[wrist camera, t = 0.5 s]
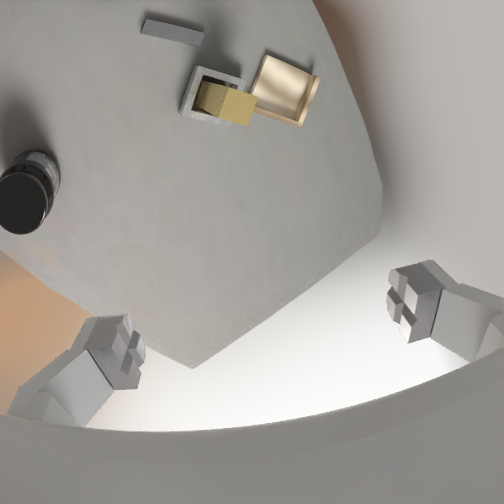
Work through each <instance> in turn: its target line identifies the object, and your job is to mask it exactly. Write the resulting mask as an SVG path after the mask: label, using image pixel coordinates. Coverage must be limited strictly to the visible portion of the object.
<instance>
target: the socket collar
mask: <svg viewBox="0 0 504 504" xmlns="http://www.w3.org/2000/svg"><path fill="white" fill-rule="evenodd" d="M203 75H205V76H208V77H212V78H215V79H219V80H222V81H225V82H228V83H232V86H231V88H233V89H236V90H239V91H242V92H243V90H244V88H245V85H246V82H247V81H246V80H243V79H240V78H237V77H234V76H231V75H227V74H224V73H221V72H218V71H215V70H211V69H208V68H204V67H201V66H194V68H193V71H192V74H191V77H190V79H189V82H188V85H187V88H186V91H185V94H184V97H183V100H182V103H181V106H180V109H179V112H178V113H179V114H180V115H181V116H185V117H190V118H194V119H198V120H203V121H207V122H211V123H215V124H219V125H223V126H227V127H230V126H231V123H232V121H228V120H224V119H220V118H218V117H216V116H214V115H212V114H210V113H206V112H202V111H198V110H194V109H191V108H192V105H193V102H194V99H195V96H196V93H197V90H198V87H199V85H200V82H201V79H202V76H203Z"/></svg>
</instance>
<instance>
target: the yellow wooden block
mask: <svg viewBox="0 0 504 504" xmlns="http://www.w3.org/2000/svg"><path fill="white" fill-rule="evenodd" d="M257 100H258V97H257V96H254V95H251V94H248V93H245V92H242V91H239V90H236V89H233V88H230V87H226V86H222V85H218V84H214V83H210V82H206V81H202V82H201V85H200V88H199V91H198V94H197V97H196V100H195V103H194V104H195V105H197V106H199V107H200V108H202V109H204V110H206V111H207V112H209V113H211V114H212V115H214V116H216V117H218V118H220V119H224V120H228V121H232V122H235V123H239V124H242V125H246V126H248V123H249V121H250V118H251V115H252V113H253V110H254V107H255V105H256V102H257Z"/></svg>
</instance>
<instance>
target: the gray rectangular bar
mask: <svg viewBox="0 0 504 504" xmlns="http://www.w3.org/2000/svg"><path fill="white" fill-rule="evenodd" d="M141 34H144V35H149V36H154V37H159V38H164V39H168V40H173V41H177V42H181V43H185V44H189V45H193V46H196V47H200V46H201V43H202V41H203V38H204V36H205V33H202V32H199V31H195V30H192V29H188V28H184V27H180V26H176V25H172V24H168V23H163V22H159V21H154V20H149V19H146V21H145V24H144V26H143V29H142V32H141Z"/></svg>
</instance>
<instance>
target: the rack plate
mask: <svg viewBox="0 0 504 504" xmlns="http://www.w3.org/2000/svg"><path fill="white" fill-rule="evenodd" d="M320 79H321V78H320V77H318V76H314V75H310V74H308V73H306V72H304V71H302V70H300V69H298V68H296V67H293V66H291V65H289V64H287V63H285V62H282V61H280V60H278V59H276V58H273V57H271V56H268V55H265V56H264V58H263V61H262V63H261V66H260V68H259V71H258V73H257V76H256V78H255V81H254V83H253V86H252V88H251V91H250V94H251V95H254V96H257V97H258V100H257V102H256V105H255V107H254V110H253V112H256V113H259V114H262V115H265V116H268V117H271V118H274V119H277V120H279V121H282V122H285V123H288V124H291V125H293V126H296V127H299V128H301V126H302V123H303V121H304V118H305V116H306V114H307V111H308V109H309V106H310V104H311V101H312V99H313V96H314V94H315V92H316V89H317V87H318V84H319V82H320Z"/></svg>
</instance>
